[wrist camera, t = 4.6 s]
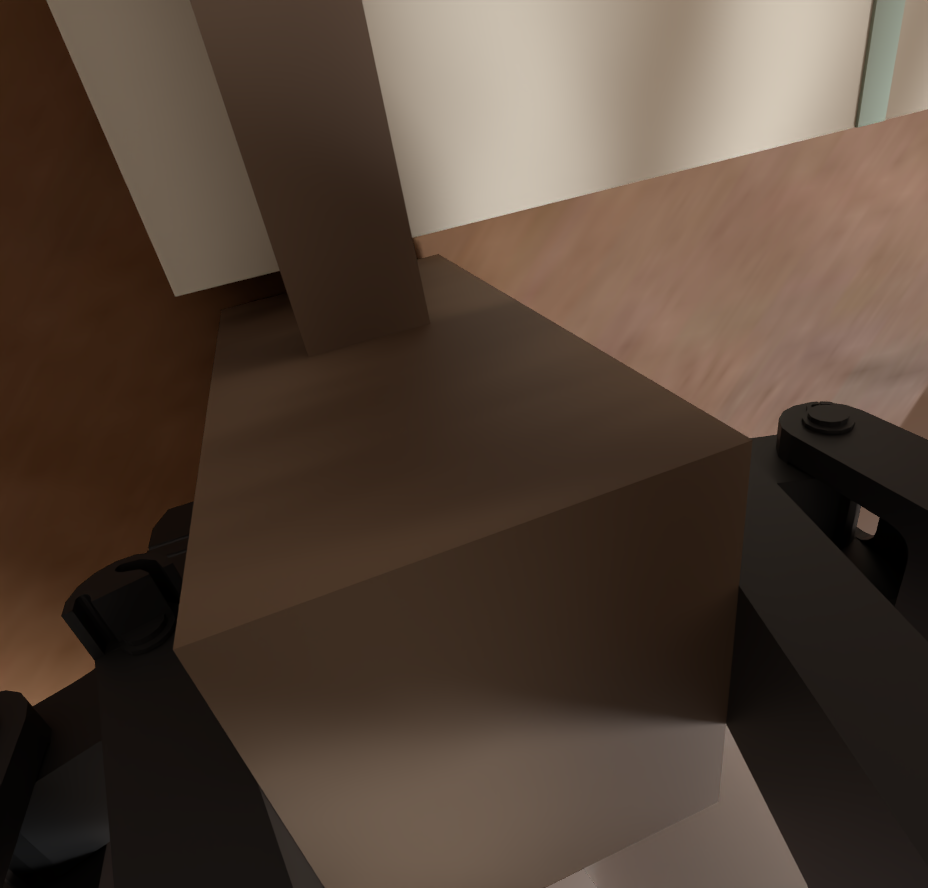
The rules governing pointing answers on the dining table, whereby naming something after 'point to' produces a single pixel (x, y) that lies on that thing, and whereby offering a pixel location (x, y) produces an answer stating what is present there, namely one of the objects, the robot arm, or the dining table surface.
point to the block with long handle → (439, 523)
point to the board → (497, 102)
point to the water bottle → (710, 844)
